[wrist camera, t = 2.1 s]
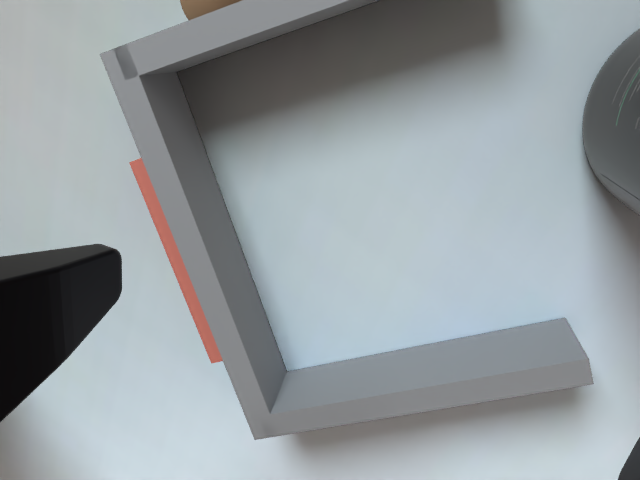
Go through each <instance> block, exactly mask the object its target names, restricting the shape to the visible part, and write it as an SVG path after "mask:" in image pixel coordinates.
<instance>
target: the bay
mask: <svg viewBox="0 0 640 480" xmlns="http://www.w3.org/2000/svg"><path fill="white" fill-rule="evenodd" d="M376 1H379V0H242V1H239V2H237V3H234V4H231V5H229V6H226V7H223V8H221V9H218V10H215V11H213V12H210V13H207V14H205V15H202V16H200V17H197V18H194V19H192V20H189V21H186V22H184V23H181V24H178V25H176V26H173V27H170V28H168V29H165V30H162V31H160V32H157V33H154V34H152V35H149V36H146V37H144V38H141V39H138V40H136V41H133V42H130V43H128V44H125V45H122V46H120V47H117V48H114V49H112V50H109V51H106V52H104V53H101V54H100V56H101V59H102V61H103V64H104V66H105V69H106V71H107V74H108V76H109V79H110V81H111V83H112V86H113V88H114V91H115V93H116V96H117V98H118V101H119V103H120V106H121V108H122V111H123V113H124V116H125V118H126V121H127V123H128V126H129V128H130V131H131V133H132V136H133V138H134V141H135V143H136V146H137V148H138V151H139V153H140V156H141V158H140V159H137V160H135V161H132V162H130V165H131V168H132V170H133V173H134V175H135V178H136V180H137V183H138V185H139V187H140V190H141V192H142V195H143V197H144V200H145V202H146V205H147V207H148V209H149V212H150V214H151V217H152V219H153V222H154V224H155V227H156V229H157V231H158V234H159V236H160V239H161V241H162V244H163V246H164V249H165V251H166V253H167V256H168V258H169V261H170V263H171V266H172V268H173V271H174V273H175V275H176V278H177V280H178V283H179V285H180V288H181V290H182V293H183V295H184V297H185V300H186V302H187V305H188V307H189V310H190V312H191V315H192V317H193V319H194V322H195V324H196V327H197V329H198V332H199V334H200V337H201V339H202V341H203V344H204V346H205V349H206V351H207V354H208V356H209V359H210V361H211V363H215V362H220V361H223V362H224V365H225V367H226V370H227V372H228V374H229V377H230V379H231V382H232V384H233V387H234V389H235V392H236V394H237V397H238V399H239V402H240V404H241V407H242V409H243V412H244V414H245V417H246V419H247V422H248V424H249V427H250V429H251V432H252V434H253V437H254V439H255V440H257V439H263V438H269V437H275V436H281V435H287V434H293V433H299V432H306V431H312V430H318V429H324V428H330V427H336V426H342V425H348V424H354V423H360V422H366V421H372V420H379V419H385V418H391V417H397V416H403V415H409V414H415V413H421V412H427V411H433V410H439V409H445V408H452V407H458V406H464V405H470V404H476V403H482V402H488V401H494V400H500V399H506V398H512V397H518V396H525V395H531V394H537V393H543V392H549V391H555V390H561V389H567V388H573V387H579V386H585V385H591V384H594V383H593V378H592V373H591V368H590V363H589V358H588V357H587V355H586V353H585V351H584V350H583V348H582V346H581V344H580V343H579V341H578V339H577V337H576V336H575V334H574V332H573V330H572V328H571V327H570V325H569V323H568V321H567V320H566V318H561V319H556V320H551V321H546V322H540V323H535V324H530V325H525V326H520V327H515V328H510V329H504V330H499V331H494V332H489V333H484V334H479V335H473V336H468V337H463V338H458V339H453V340H448V341H443V342H437V343H432V344H427V345H422V346H417V347H412V348H406V349H401V350H396V351H391V352H386V353H381V354H375V355H370V356H365V357H360V358H355V359H350V360H345V361H339V362H334V363H329V364H324V365H319V366H314V367H308V368H303V369H298V370H293V371H288V372H287V371H286V368H285V365H284V363H283V360H282V357H281V355H280V352H279V349H278V346H277V344H276V341H275V338H274V336H273V333H272V330H271V327H270V325H269V322H268V319H267V317H266V314H265V311H264V308H263V306H262V303H261V300H260V298H259V295H258V292H257V289H256V287H255V284H254V281H253V279H252V276H251V273H250V270H249V268H248V265H247V262H246V260H245V257H244V254H243V251H242V249H241V246H240V243H239V241H238V238H237V235H236V232H235V230H234V227H233V224H232V222H231V219H230V216H229V214H228V211H227V208H226V205H225V203H224V200H223V197H222V195H221V192H220V189H219V186H218V184H217V181H216V178H215V176H214V173H213V170H212V167H211V165H210V162H209V159H208V157H207V154H206V151H205V148H204V146H203V143H202V140H201V138H200V135H199V132H198V129H197V127H196V124H195V121H194V119H193V116H192V113H191V110H190V108H189V105H188V102H187V100H186V97H185V94H184V91H183V89H182V86H181V83H180V81H179V78H178V75H177V72H178V71H181V70H184V69H186V68H189V67H192V66H195V65H198V64H201V63H203V62H206V61H209V60H212V59H215V58H218V57H220V56H223V55H226V54H229V53H232V52H235V51H237V50H240V49H243V48H246V47H249V46H252V45H254V44H257V43H260V42H263V41H266V40H269V39H271V38H274V37H277V36H280V35H283V34H286V33H288V32H291V31H294V30H297V29H300V28H303V27H305V26H308V25H311V24H314V23H317V22H320V21H322V20H325V19H328V18H331V17H334V16H337V15H339V14H342V13H345V12H348V11H351V10H354V9H356V8H359V7H362V6H365V5H368V4H371V3H373V2H376Z"/></svg>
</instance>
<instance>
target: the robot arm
mask: <svg viewBox="0 0 640 480" xmlns="http://www.w3.org/2000/svg"><path fill="white" fill-rule="evenodd" d="M121 291H122V259H121V255H120V253H119V251H118V250H116V249H113V248H111V247H108V246H105V245H102V244H93V245H85V246H78V247H71V248H63V249H56V250H48V251H41V252H33V253H26V254H18V255H11V256H3V257H0V422H1V421H2V420H3V419H4V418H5V417H7V416H8V415H9V414H10V413H11V412H12V411H13V410H14V409H15V408H16V407H17V406H18V405H19V404H20V403H21V402H22V401H23V400H24V399H26V398H27V397H28V396H29V395H30V394H31V393H32V392H33V391H34V390H35V389H36V388H37V387H38V386H39V385H40V384H41V383H42V382H43V381H44V380H46V379H47V378H48V377H49V376H50V375H51V374H52V373H53V372H54V371H55V370H56V369H57V368H58V367H59V366H60V365H61V364H62V363H63V362H64V361H65V360H66V359H67V358H68V357H69V356H70V355H71V354H72V352H73V351H74V350H75V349H76V348H77V347H78V346H79V345H80V343H81V342H82V341H83V340H84V339H85V338H86V336H87V335H88V334H89V333H90V332H91V331H92V330H93V328H94V327H95V326H96V325H97V324H98V323H99V321H100V320H101V319H102V318H103V317H104V316H105V315H106V313H107V312H108V311H109V310H110V309H111V308H112V306H113V305H114V304H115V303H116V302H117V300H118V299H119V297H120V294H121ZM618 480H640V438H639V439H638V441H637V442H636V444H635V446H634V448H633V450H632V452H631V453H630V455H629V457H628V459H627V461H626V463H625V464H624V466H623V468H622V470H621V472H620V475H619V478H618Z"/></svg>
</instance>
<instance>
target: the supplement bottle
mask: <svg viewBox="0 0 640 480" xmlns="http://www.w3.org/2000/svg"><path fill="white" fill-rule="evenodd" d="M582 129H583V142H584V148H585V152H586V155H587V158H588V161H589V163H590V166H591V168H592V170H593V172H594V173H595V175H596V176H597V178H598V179H599V181H600V182H601V183H602V184H603V186H604V187H605V188H606V189H607V190H608V191H609V192H610V193H611V194H612V195H613V196H614V197H616V198H617V199H618V200H619V201H621V202H622V203H623V204H624V205H626V206H627V207H628V208H630V209H631V210H632V211H634V212H635V213H636V214H638V215H639V216H640V29H638V30H637V31H636V32H634V33H633V34H632V35H631V36H630V37H628V38H627V39H626V40H625V41H624V42H623V43H622V44H621V45H620V46H619V47H618V48H617V49H616V50H615V51H614V52H613V53H612V55H611V56H610V57H609V58H608V60H607V61H606V62H605V64H604V65H603V67H602V68H601V70H600V71H599V73H598V75H597V76H596V78H595V80H594V83H593V85H592V87H591V89H590V92H589V95H588V97H587V101H586V105H585V109H584V116H583V128H582Z"/></svg>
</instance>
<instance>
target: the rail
mask: <svg viewBox="0 0 640 480" xmlns="http://www.w3.org/2000/svg"><path fill="white" fill-rule="evenodd" d="M180 1H181V6H182V9H183V11H184V13H185V15H186V17H187V18H188V20H192V19H194V18H197V17H200V16H202V15H205V14H207V13H210V12H213V11H215V10H218V9H221V8H223V7H226V6H229V5H231V4H234V3H237V2H239V1H242V0H180Z"/></svg>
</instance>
